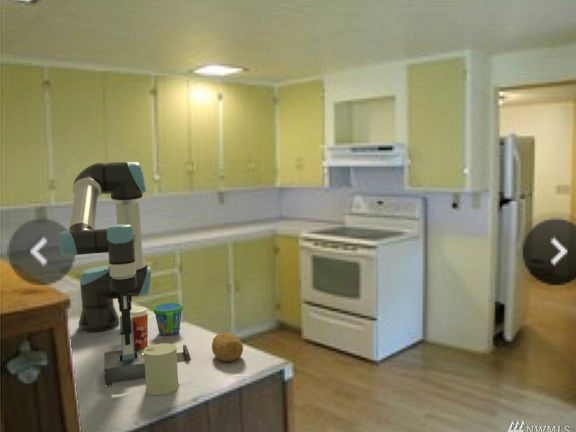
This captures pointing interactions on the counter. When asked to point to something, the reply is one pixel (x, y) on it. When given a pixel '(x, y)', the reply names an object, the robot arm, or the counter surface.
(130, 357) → the plug
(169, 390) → the can
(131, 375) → the port
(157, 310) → the snack cup
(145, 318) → the coffee cup
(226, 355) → the potato
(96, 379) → the counter surface
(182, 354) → the dark grey bridge bracket
